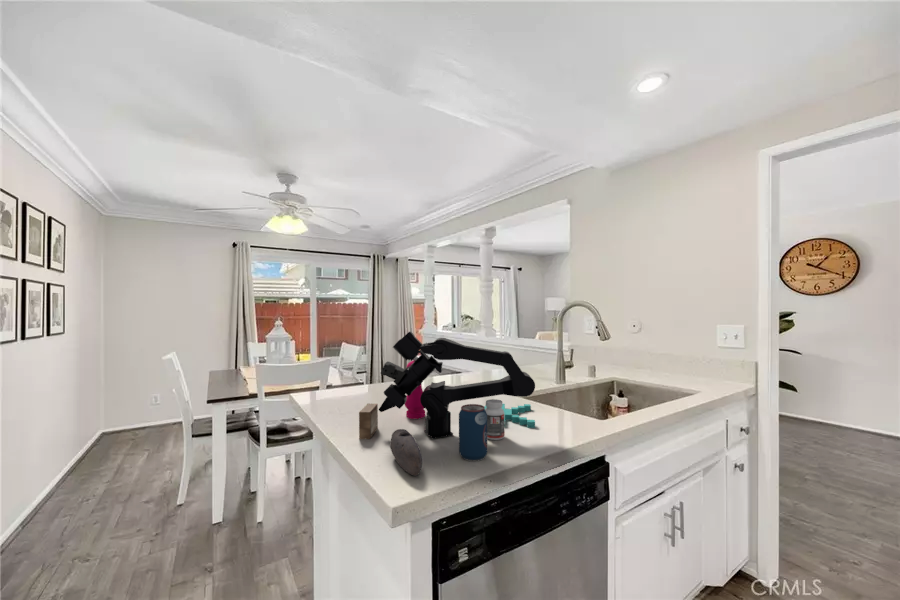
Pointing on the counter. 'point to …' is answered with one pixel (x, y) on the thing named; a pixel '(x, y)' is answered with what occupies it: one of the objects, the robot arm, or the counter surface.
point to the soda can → (473, 432)
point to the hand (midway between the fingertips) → (380, 410)
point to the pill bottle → (495, 419)
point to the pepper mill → (414, 401)
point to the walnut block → (368, 421)
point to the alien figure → (516, 418)
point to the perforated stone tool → (406, 451)
